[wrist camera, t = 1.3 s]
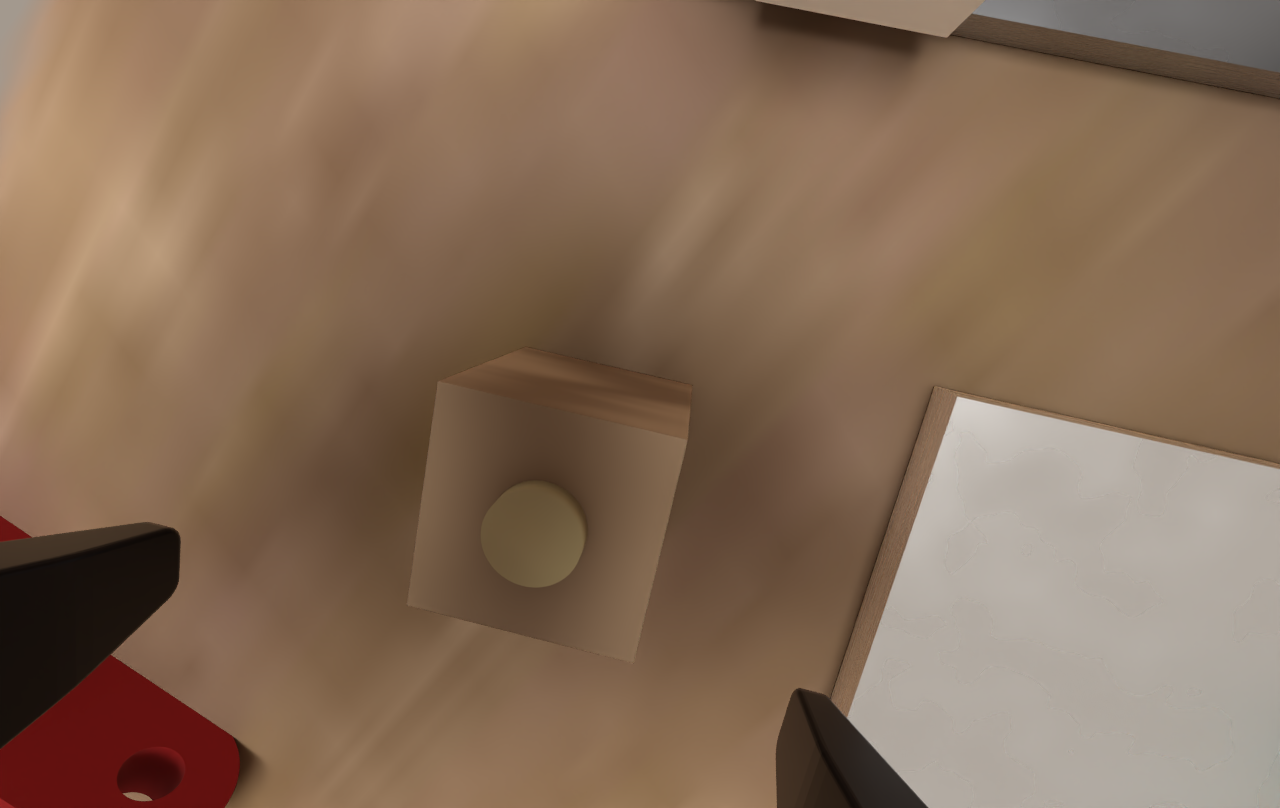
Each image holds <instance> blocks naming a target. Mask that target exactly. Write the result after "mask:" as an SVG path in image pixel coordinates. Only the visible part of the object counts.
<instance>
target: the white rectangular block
mask: <svg viewBox="0 0 1280 808" xmlns="http://www.w3.org/2000/svg"><path fill="white" fill-rule="evenodd" d="M755 1H760V2H765V3H770V4H775V5H780V6H785V7H791V8H796V9H801V10H806V11H811V12H816V13H821V14H827V15H832V16H837V17H842V18H847V19H852V20H858V21H863V22H868V23H873V24H878V25H883V26H888V27H894V28H899V29H904V30H909V31H914V32H919V33H924V34H930V35H935V36H940V37H945V38H947V37H948V36H949V35H950V34H951V33H952V32H953V31H954V30H955V29H956V28H957V27H958V26H959V25H960V24H961V23H962V22H963V21H964V20H965V19H966V18H967V17H969V16H970V15H971V14H972V13H973V12H974V11H975V10H976V9H977V8H978V7H979V6H980V5H981V4H982V3H983V2H984V1H985V0H755Z"/></svg>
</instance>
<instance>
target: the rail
mask: <svg viewBox="0 0 1280 808" xmlns="http://www.w3.org/2000/svg"><path fill="white" fill-rule="evenodd" d="M950 35H955V36H960V37H966V38H971V39H976V40H981V41H986V42H991V43H996V44H1002V45H1007V46H1012V47H1017V48H1022V49H1027V50H1033V51H1038V52H1043V53H1048V54H1053V55H1058V56H1064V57H1069V58H1074V59H1079V60H1084V61H1089V62H1094V63H1100V64H1105V65H1110V66H1115V67H1120V68H1125V69H1131V70H1136V71H1141V72H1146V73H1151V74H1156V75H1161V76H1167V77H1172V78H1177V79H1182V80H1187V81H1192V82H1198V83H1203V84H1208V85H1213V86H1218V87H1223V88H1228V89H1234V90H1239V91H1244V92H1249V93H1254V94H1259V95H1265V96H1270V97H1275V98H1280V0H985V1H984V2H983V3H982V4H981V5H980V6H979V7H978V8H977V9H976V10H975V11H974V12H973V13H972V14H971V15H970V16H969V17H967V18H966V19H965V20H964V21H963V22H962V23H961V24H960V25H959V26H958V27H957V28H956V29H955V30H954V31H953V32H952V33H951V34H950Z"/></svg>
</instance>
